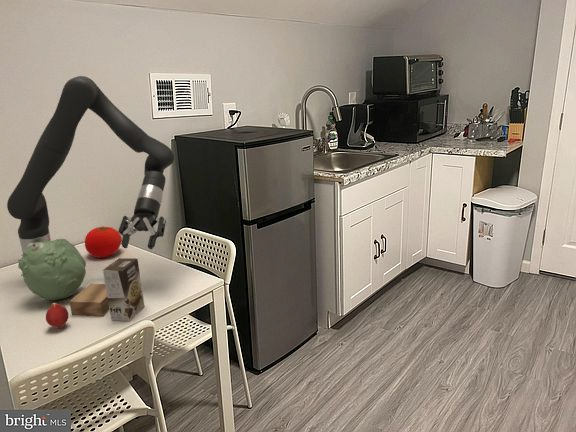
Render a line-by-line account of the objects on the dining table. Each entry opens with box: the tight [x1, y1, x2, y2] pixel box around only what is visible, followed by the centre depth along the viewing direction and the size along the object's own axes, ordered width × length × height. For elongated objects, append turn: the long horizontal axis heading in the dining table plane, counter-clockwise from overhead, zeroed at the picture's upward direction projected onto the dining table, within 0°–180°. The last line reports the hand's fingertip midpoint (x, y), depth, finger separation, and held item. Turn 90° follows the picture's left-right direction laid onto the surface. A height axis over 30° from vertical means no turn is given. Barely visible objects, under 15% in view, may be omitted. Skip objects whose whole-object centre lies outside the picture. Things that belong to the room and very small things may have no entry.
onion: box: [45, 302, 69, 329], centre depth 132 cm, size 6×6×8 cm
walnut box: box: [69, 283, 110, 318], centre depth 144 cm, size 10×12×5 cm
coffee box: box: [102, 257, 146, 322], centre depth 137 cm, size 9×6×16 cm
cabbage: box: [17, 238, 87, 301], centre depth 149 cm, size 16×19×20 cm
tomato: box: [84, 225, 123, 259], centre depth 184 cm, size 13×14×12 cm
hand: (137, 247), depth 144 cm, fingers open, 8 cm apart
